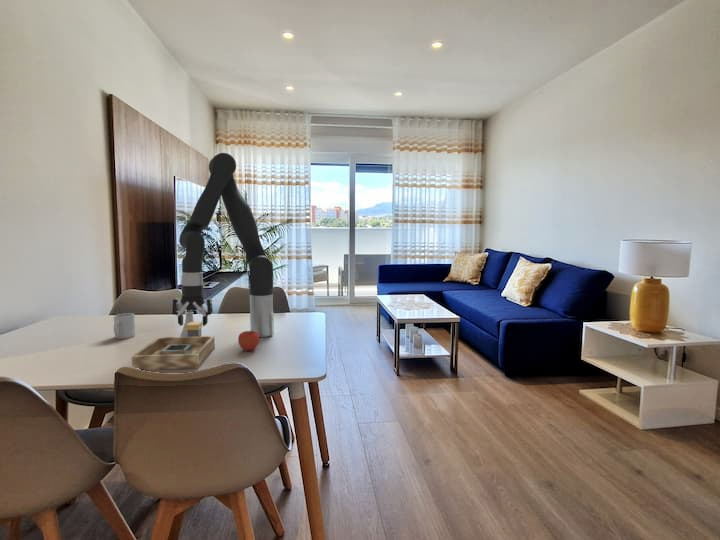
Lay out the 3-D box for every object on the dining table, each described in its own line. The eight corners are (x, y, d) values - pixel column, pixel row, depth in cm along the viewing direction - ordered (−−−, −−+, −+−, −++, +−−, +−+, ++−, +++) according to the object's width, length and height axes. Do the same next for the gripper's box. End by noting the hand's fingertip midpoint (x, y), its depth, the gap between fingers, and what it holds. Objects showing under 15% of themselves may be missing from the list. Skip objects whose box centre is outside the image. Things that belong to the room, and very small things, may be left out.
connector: (202, 341, 161) (202, 321, 160) (199, 345, 157) (198, 324, 156) (190, 342, 161) (189, 322, 160) (186, 345, 156) (186, 324, 155)
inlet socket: (192, 352, 146) (192, 343, 145) (185, 359, 138) (185, 350, 137) (169, 352, 145) (168, 344, 144) (160, 360, 137) (160, 351, 136)
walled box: (214, 348, 153) (214, 336, 153) (198, 368, 131) (197, 354, 131) (158, 349, 151) (158, 337, 151) (132, 370, 129) (131, 356, 129)
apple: (242, 347, 155) (241, 326, 154) (261, 347, 155) (261, 326, 154) (235, 353, 148) (235, 331, 147) (256, 353, 147) (255, 331, 146)
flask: (192, 339, 165) (191, 314, 164) (176, 338, 166) (175, 313, 165) (203, 334, 172) (202, 311, 171) (187, 333, 173) (186, 310, 172)
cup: (139, 334, 171) (138, 313, 170) (124, 341, 161) (123, 318, 160) (122, 334, 171) (121, 313, 170) (106, 340, 161) (105, 318, 160)
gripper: (214, 282, 161) (214, 323, 162) (176, 282, 159) (177, 322, 161) (208, 285, 153) (209, 327, 155) (169, 284, 152) (170, 327, 154)
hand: (192, 325), depth 158 cm, fingers open, 8 cm apart
